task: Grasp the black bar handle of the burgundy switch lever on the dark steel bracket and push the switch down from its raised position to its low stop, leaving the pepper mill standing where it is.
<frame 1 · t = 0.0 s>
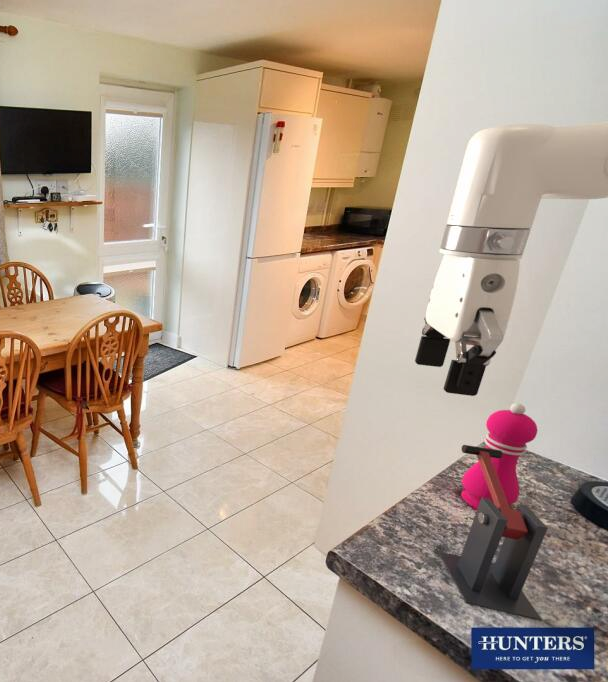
hand: (442, 378, 57), 28 cm above the counter, tool pointing down, fingers open, 9 cm apart
switch lever: (495, 487, 61), point 13 cm above the counter, hinge at 25.0°
pepper mill: (481, 509, 76), on the counter
switch bracket: (483, 589, 61), on the counter
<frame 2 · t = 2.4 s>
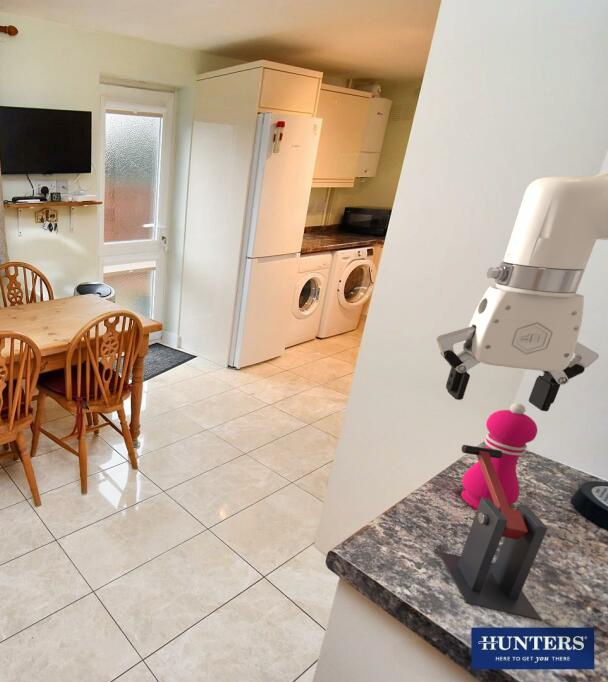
hand: (495, 401, 62), 24 cm above the counter, tool pointing down, fingers open, 9 cm apart
nothing on the counter moved.
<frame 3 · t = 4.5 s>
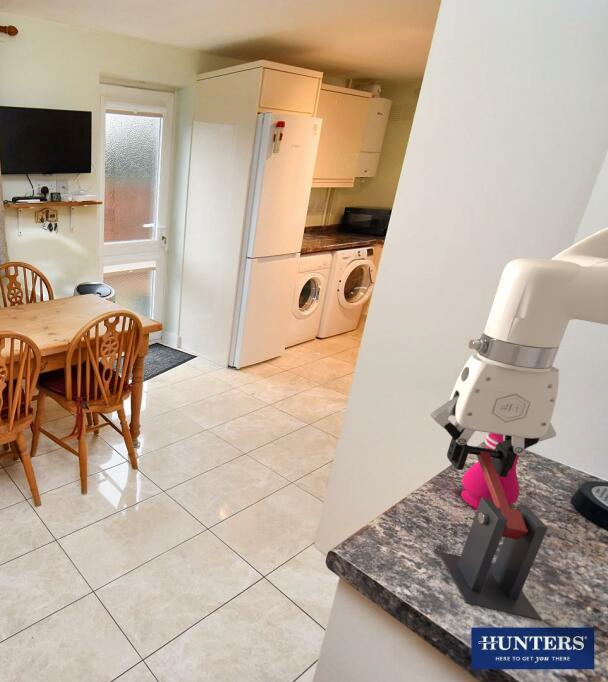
hand: (476, 467, 65), 13 cm above the counter, tool pointing down, fingers closed on switch lever, 4 cm apart
switch lever: (495, 487, 61), point 13 cm above the counter, hinge at 25.0°, touching gripper
everything else where it was.
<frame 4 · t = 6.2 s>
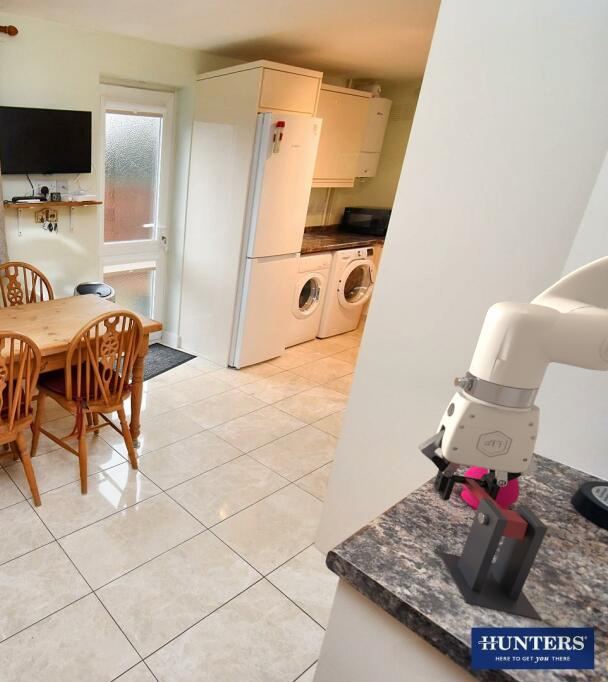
hand: (462, 497, 68), 7 cm above the counter, tool pointing down, fingers closed on switch lever, 4 cm apart
switch lever: (487, 501, 62), point 11 cm above the counter, hinge at -5.4°, touching gripper
everything else where it was.
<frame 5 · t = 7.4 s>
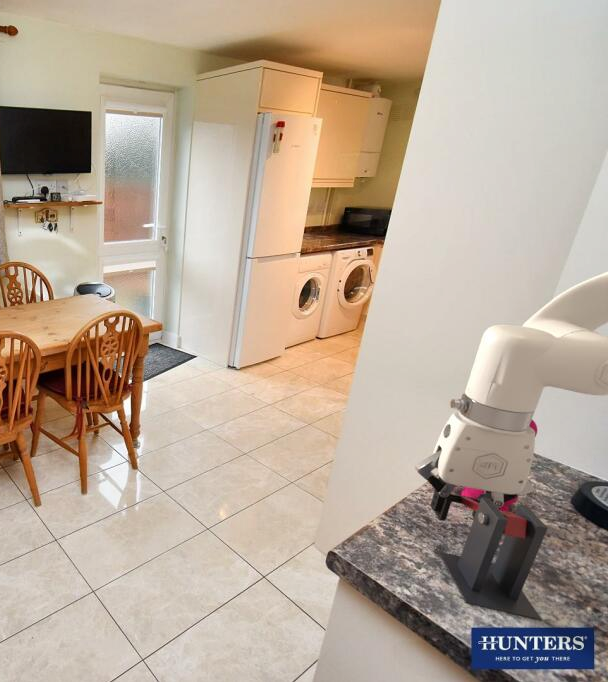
hand: (458, 517, 68), 4 cm above the counter, tool pointing down, fingers open, 4 cm apart
switch lever: (486, 511, 62), point 9 cm above the counter, hinge at -21.4°
everything else where it was.
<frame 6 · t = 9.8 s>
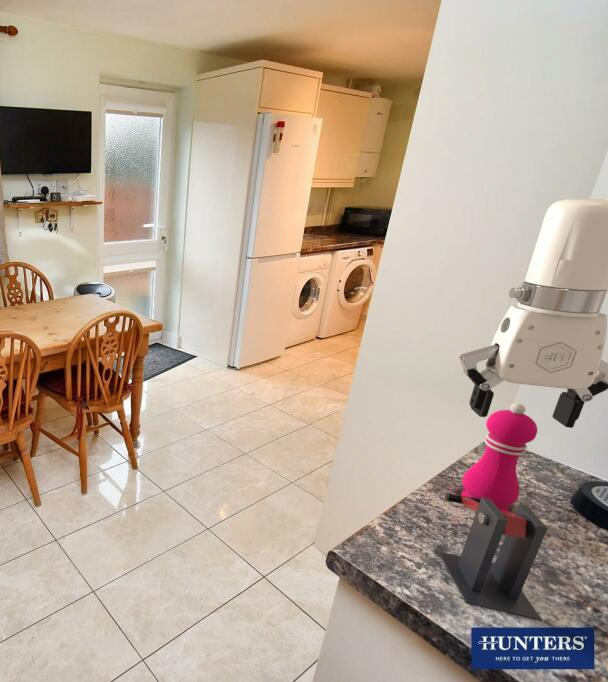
hand: (519, 417, 63), 21 cm above the counter, tool pointing down, fingers open, 9 cm apart
nothing on the counter moved.
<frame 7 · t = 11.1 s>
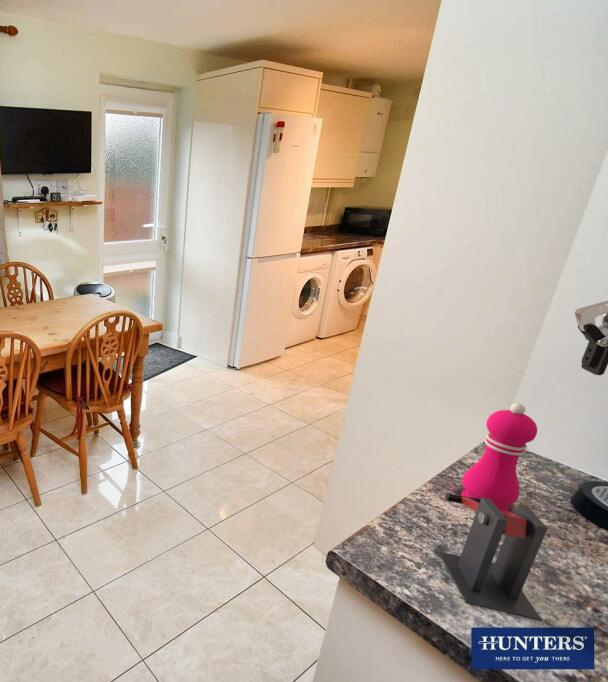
nothing on the counter moved.
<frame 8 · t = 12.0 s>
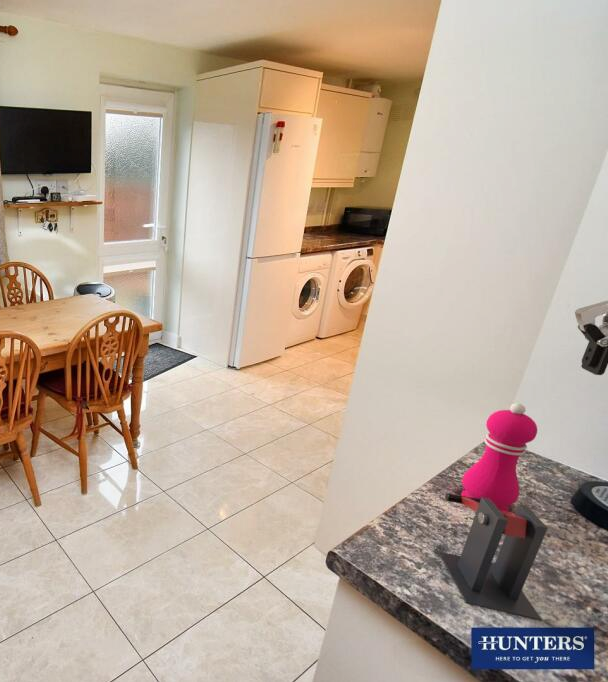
nothing on the counter moved.
at the end: switch lever at -21° (first picture: +25°); pepper mill moved 0.2 cm from its start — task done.
